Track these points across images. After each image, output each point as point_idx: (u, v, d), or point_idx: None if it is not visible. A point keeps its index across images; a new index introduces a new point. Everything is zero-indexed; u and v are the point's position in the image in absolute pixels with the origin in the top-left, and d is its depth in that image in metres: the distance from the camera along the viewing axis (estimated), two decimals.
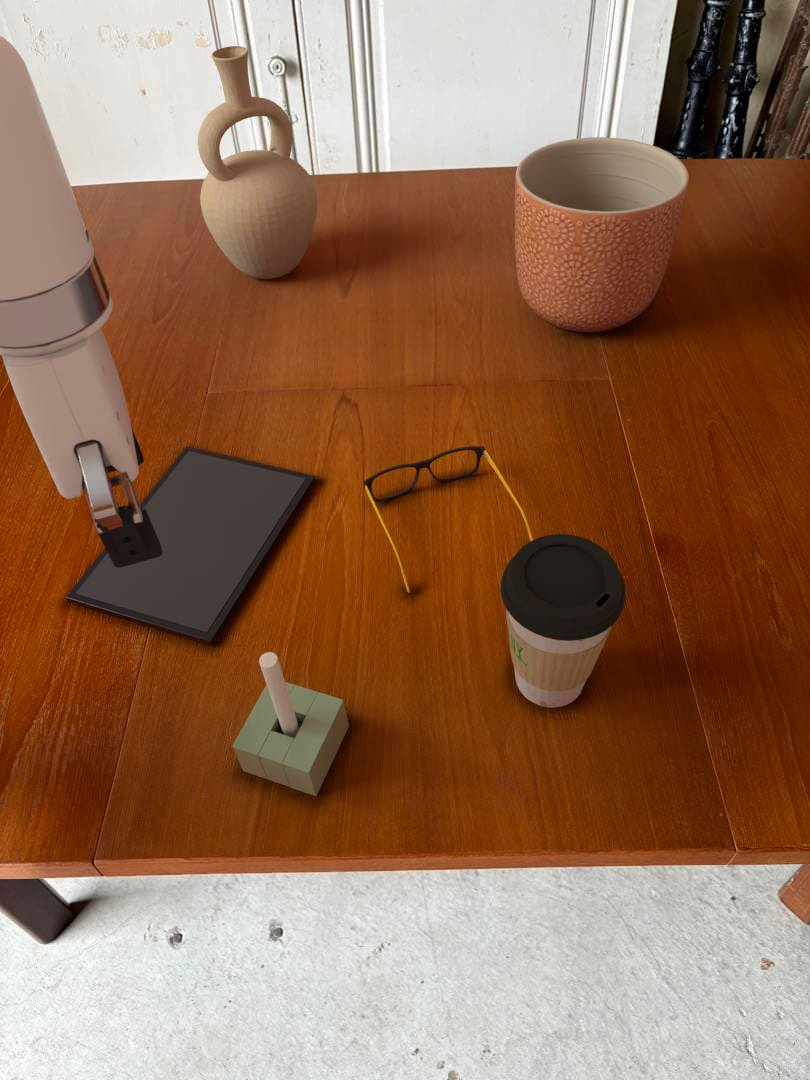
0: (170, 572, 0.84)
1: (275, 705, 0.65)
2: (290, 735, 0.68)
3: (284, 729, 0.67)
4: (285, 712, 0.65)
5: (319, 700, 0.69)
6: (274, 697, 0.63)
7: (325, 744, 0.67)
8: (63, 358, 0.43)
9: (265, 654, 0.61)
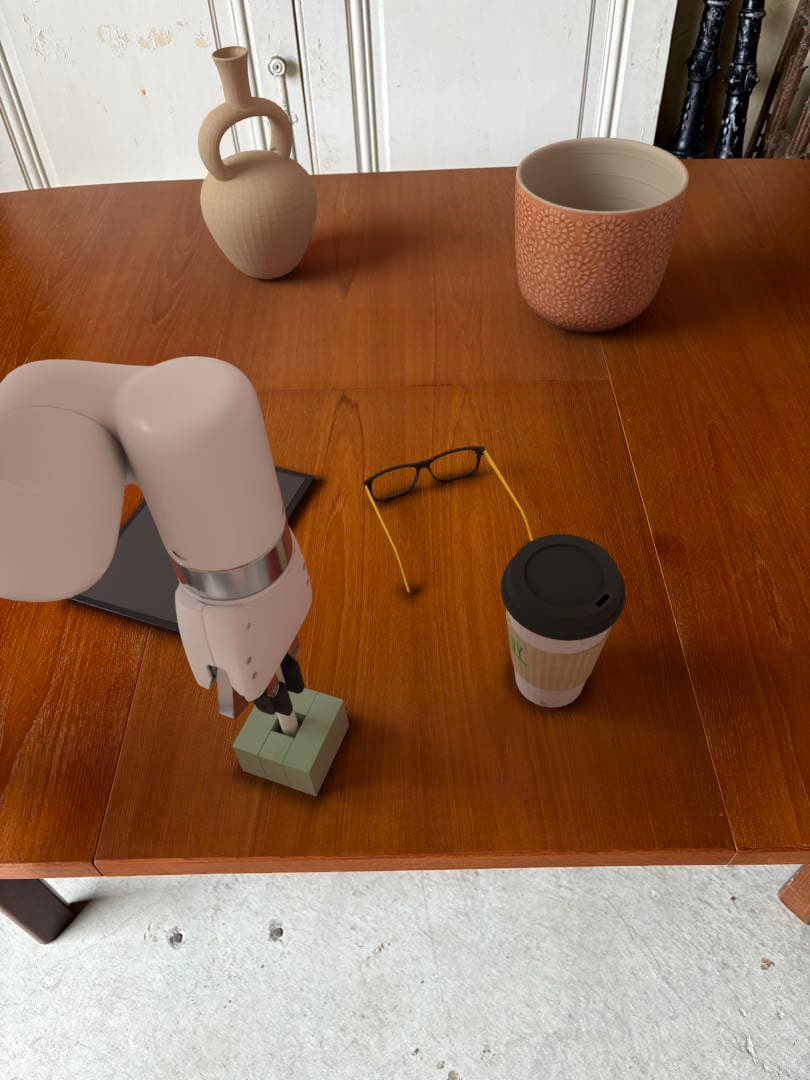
0: (170, 572, 0.84)
1: None
2: (290, 735, 0.68)
3: (284, 729, 0.67)
4: None
5: (319, 700, 0.69)
6: None
7: (325, 744, 0.67)
8: (211, 614, 0.49)
9: None
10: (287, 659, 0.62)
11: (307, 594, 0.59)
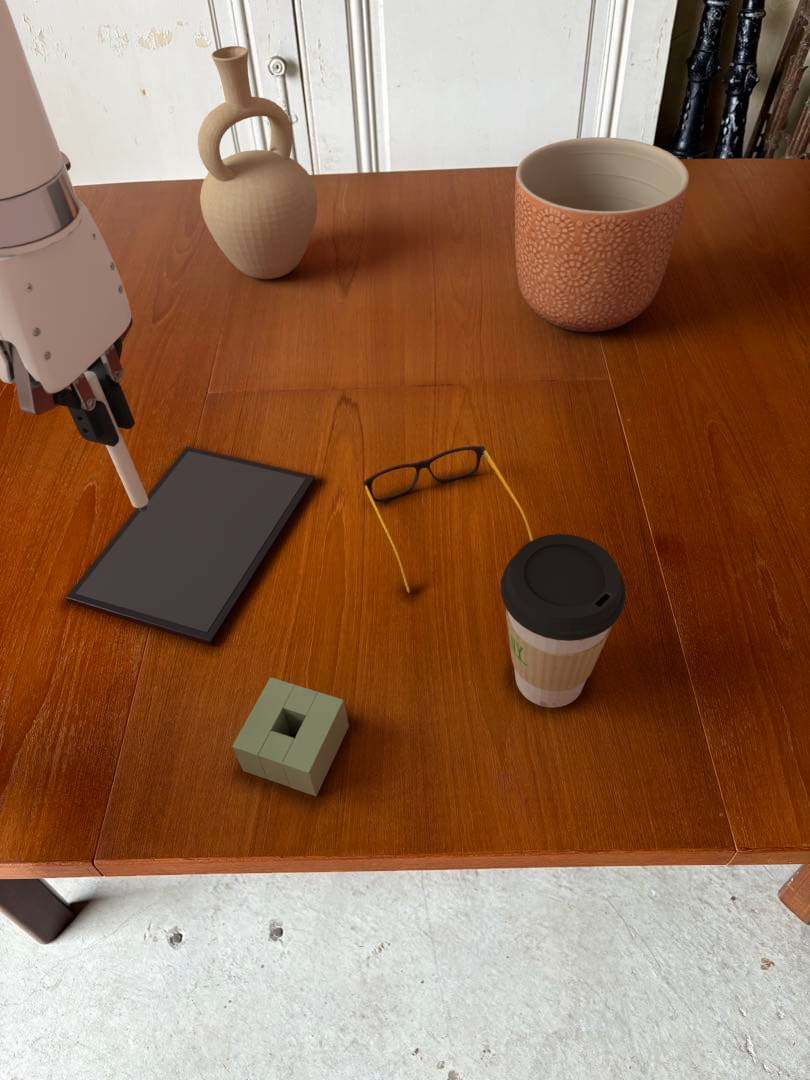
0: (170, 572, 0.84)
1: None
2: (129, 484, 0.67)
3: (121, 476, 0.66)
4: (116, 450, 0.64)
5: (319, 700, 0.69)
6: None
7: (325, 744, 0.67)
8: None
9: (84, 372, 0.60)
10: (110, 383, 0.61)
11: (121, 303, 0.58)
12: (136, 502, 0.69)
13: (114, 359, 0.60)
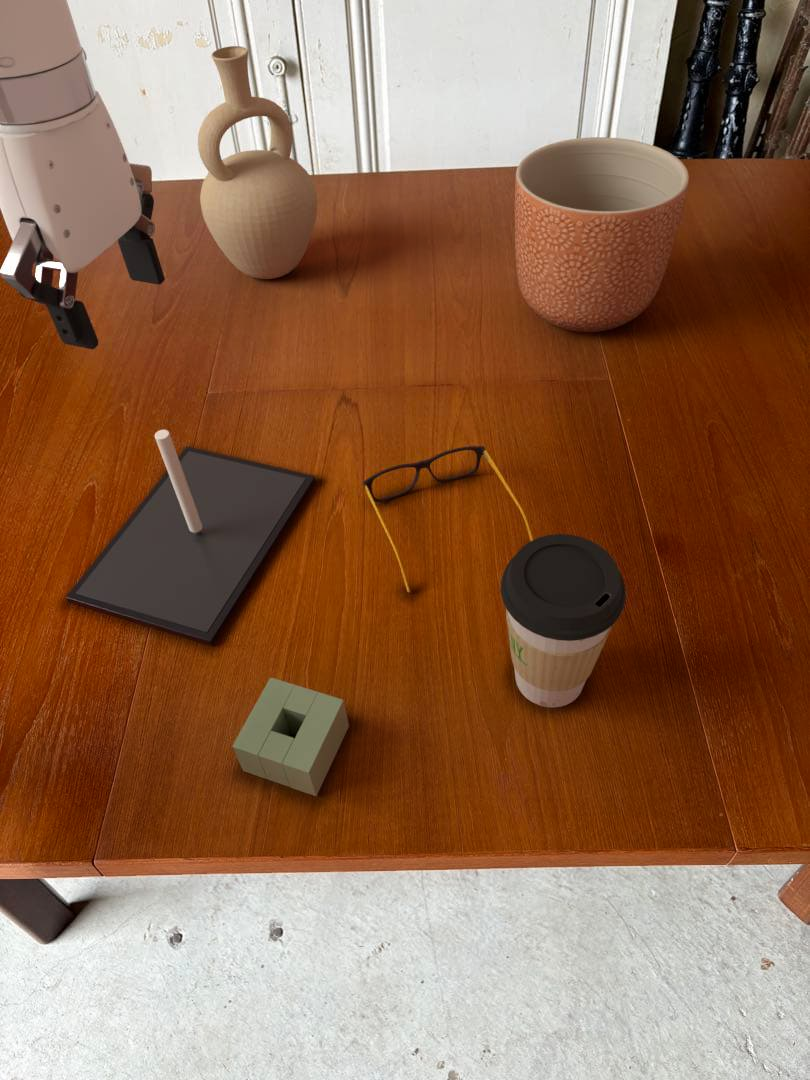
0: (170, 572, 0.84)
1: (172, 481, 0.81)
2: (188, 514, 0.84)
3: (183, 508, 0.84)
4: (181, 488, 0.82)
5: (319, 700, 0.69)
6: (170, 472, 0.80)
7: (325, 744, 0.67)
8: (10, 139, 0.53)
9: (160, 430, 0.77)
10: (143, 237, 0.67)
11: (132, 195, 0.63)
12: (193, 528, 0.86)
13: (142, 220, 0.66)
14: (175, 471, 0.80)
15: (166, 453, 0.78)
